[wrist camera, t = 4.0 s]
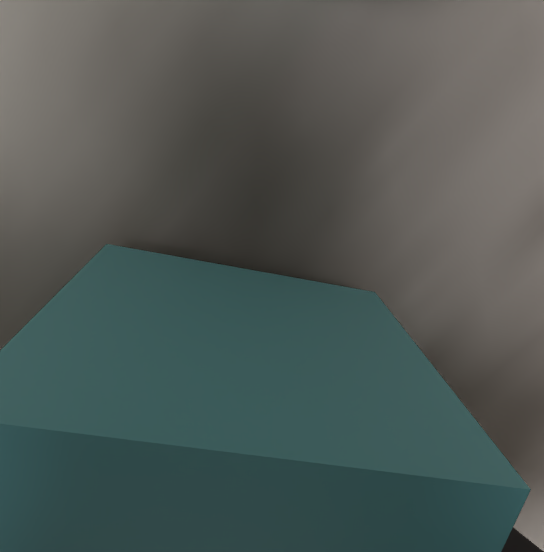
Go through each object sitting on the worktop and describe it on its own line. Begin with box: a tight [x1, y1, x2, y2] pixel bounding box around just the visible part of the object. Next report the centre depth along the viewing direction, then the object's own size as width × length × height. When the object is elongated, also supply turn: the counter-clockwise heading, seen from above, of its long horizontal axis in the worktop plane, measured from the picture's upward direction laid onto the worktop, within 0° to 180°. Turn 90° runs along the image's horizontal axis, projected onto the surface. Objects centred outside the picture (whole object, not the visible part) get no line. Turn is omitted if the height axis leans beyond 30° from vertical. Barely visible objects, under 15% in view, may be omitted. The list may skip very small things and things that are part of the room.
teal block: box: [0, 244, 531, 552], centre depth 7 cm, size 5×5×5 cm
